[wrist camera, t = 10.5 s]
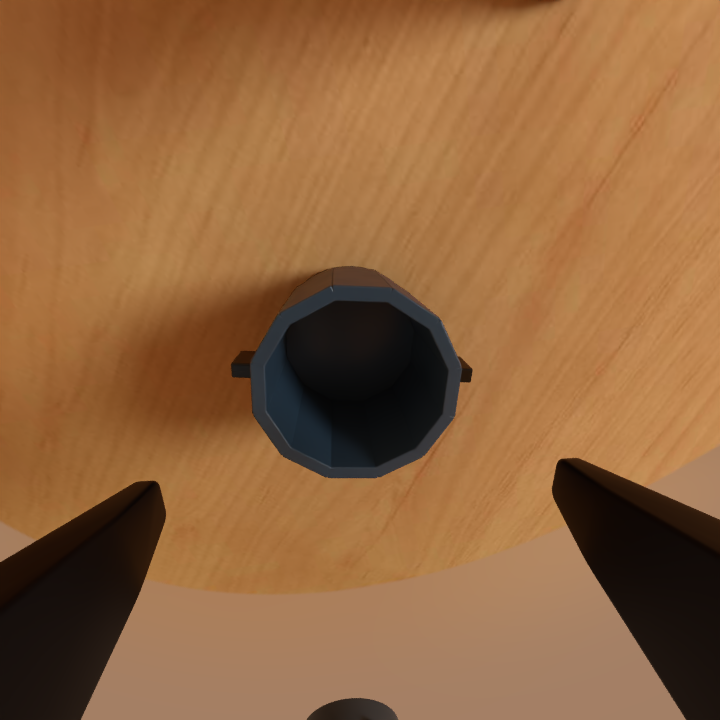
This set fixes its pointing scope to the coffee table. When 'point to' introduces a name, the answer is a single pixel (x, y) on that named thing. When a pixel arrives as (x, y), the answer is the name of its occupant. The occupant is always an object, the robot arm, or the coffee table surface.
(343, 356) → the pot
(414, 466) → the coffee table surface
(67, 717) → the robot arm
